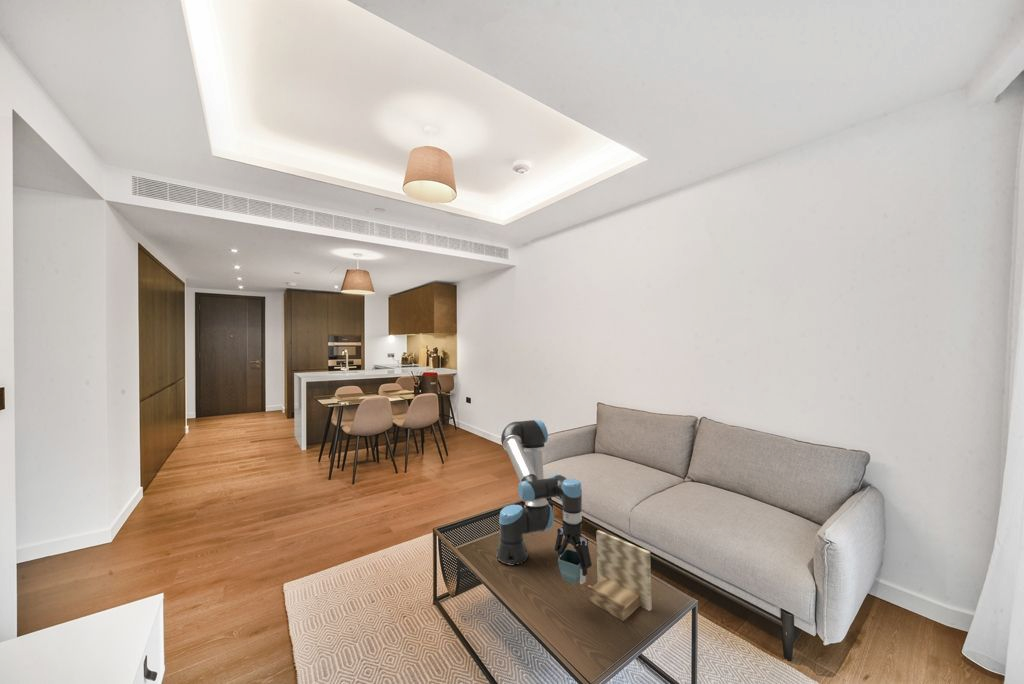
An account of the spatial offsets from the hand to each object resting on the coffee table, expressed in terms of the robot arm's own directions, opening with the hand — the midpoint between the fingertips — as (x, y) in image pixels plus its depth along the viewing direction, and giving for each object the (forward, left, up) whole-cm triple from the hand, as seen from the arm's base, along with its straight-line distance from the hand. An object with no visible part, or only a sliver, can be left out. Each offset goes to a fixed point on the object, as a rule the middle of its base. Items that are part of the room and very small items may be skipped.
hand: (572, 576), depth 146 cm
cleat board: (+11, +12, -11) cm, 19 cm away
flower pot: (0, 0, -1) cm, 1 cm away
